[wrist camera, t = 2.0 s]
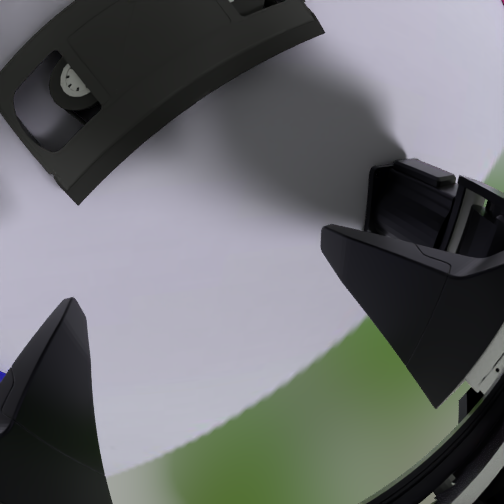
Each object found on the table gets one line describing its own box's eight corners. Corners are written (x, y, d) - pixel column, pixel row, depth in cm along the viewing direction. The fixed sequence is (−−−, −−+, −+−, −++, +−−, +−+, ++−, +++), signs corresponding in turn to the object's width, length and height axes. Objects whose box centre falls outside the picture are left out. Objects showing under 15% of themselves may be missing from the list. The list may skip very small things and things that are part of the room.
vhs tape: (232, -59, 7) (245, -75, 5) (304, 38, 11) (325, 32, 10) (2, 91, 7) (-16, 91, 5) (86, 192, 12) (78, 205, 10)
